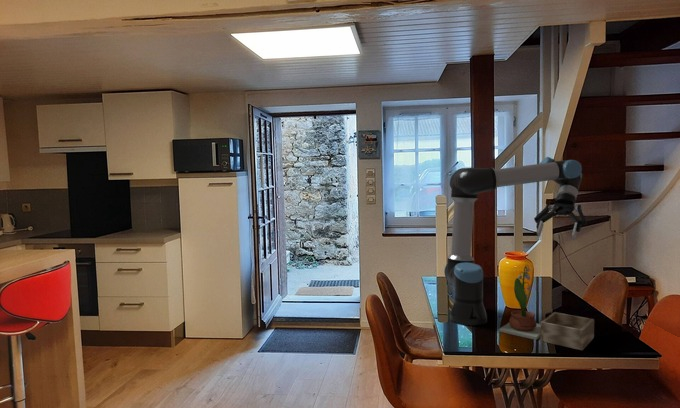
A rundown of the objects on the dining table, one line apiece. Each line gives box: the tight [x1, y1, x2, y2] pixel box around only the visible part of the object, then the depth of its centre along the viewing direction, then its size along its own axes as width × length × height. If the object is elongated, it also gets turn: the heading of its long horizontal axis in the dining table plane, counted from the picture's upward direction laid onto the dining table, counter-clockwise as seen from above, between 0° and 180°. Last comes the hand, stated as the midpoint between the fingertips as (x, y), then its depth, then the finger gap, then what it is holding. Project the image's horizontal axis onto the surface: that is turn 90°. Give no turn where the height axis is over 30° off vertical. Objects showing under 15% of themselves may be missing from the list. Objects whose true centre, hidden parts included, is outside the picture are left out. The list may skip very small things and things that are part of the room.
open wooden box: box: [539, 311, 595, 351], centre depth 162 cm, size 14×16×7 cm
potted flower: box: [508, 264, 537, 331], centre depth 173 cm, size 12×10×25 cm
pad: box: [498, 322, 541, 341], centre depth 173 cm, size 14×16×1 cm
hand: (555, 235), depth 181 cm, fingers open, 13 cm apart
